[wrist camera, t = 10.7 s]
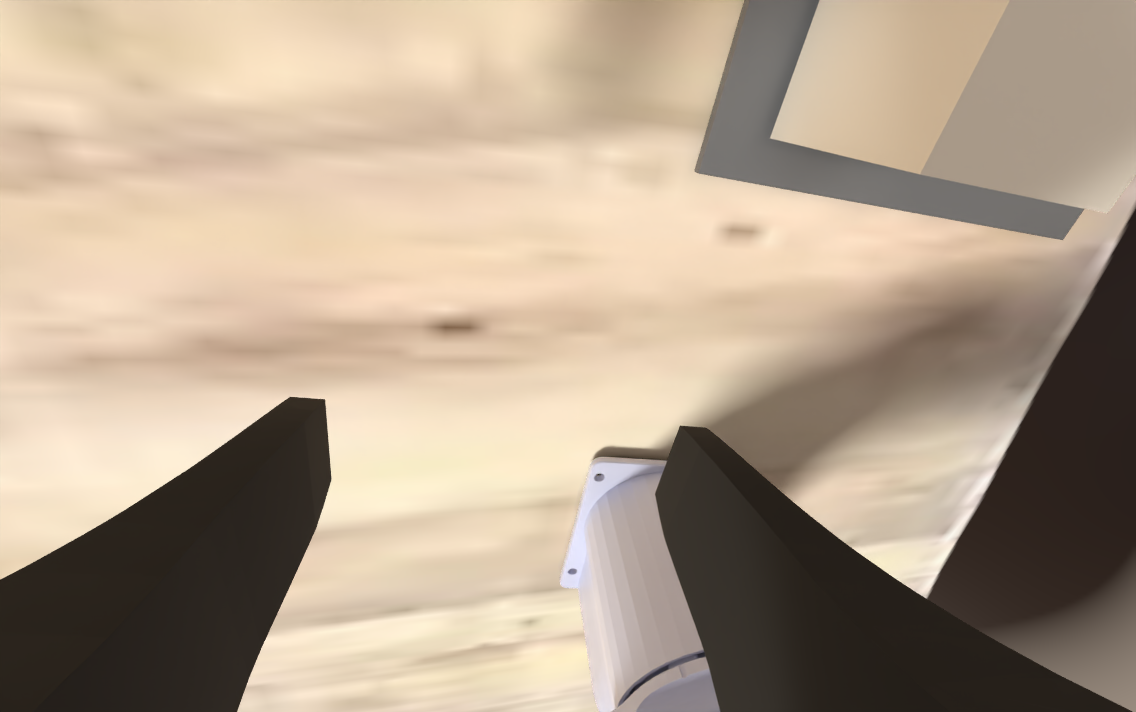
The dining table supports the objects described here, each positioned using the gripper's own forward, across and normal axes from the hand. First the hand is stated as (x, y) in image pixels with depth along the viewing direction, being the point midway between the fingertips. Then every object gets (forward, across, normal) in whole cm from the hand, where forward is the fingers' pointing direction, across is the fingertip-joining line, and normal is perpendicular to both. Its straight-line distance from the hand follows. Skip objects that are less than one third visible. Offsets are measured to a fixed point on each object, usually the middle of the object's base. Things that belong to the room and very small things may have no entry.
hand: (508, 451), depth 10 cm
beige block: (+9, -10, -9) cm, 16 cm away
